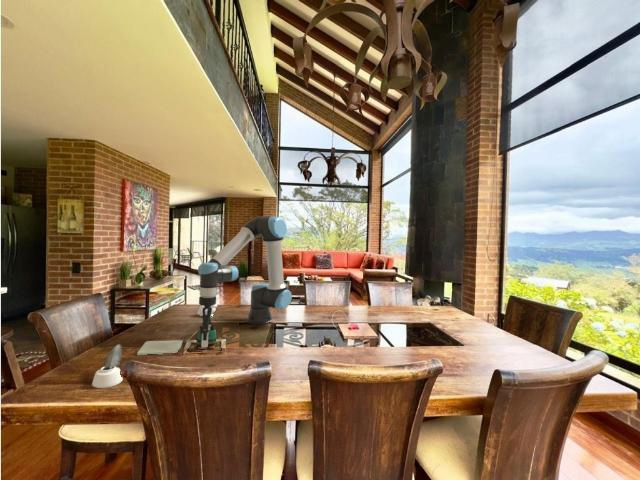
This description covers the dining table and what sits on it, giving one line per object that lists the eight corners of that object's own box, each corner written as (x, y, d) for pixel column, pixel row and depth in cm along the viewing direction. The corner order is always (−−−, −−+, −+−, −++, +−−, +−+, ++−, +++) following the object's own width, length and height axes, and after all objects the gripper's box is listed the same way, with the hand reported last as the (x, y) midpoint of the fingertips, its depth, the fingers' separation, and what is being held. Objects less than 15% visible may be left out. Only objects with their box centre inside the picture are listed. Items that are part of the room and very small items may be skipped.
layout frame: (225, 340, 165) (225, 339, 165) (224, 352, 149) (225, 351, 149) (187, 341, 161) (187, 340, 161) (182, 354, 144) (182, 353, 144)
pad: (182, 342, 159) (182, 340, 159) (177, 353, 145) (177, 351, 145) (146, 343, 155) (146, 341, 155) (137, 355, 141) (137, 352, 141)
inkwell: (87, 389, 110) (88, 359, 110) (103, 367, 127) (104, 342, 127) (119, 386, 113) (120, 357, 113) (130, 365, 130) (131, 340, 130)
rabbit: (218, 315, 210) (219, 297, 210) (210, 319, 201) (211, 299, 201) (200, 314, 213) (201, 295, 212) (192, 317, 203) (193, 298, 203)
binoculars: (214, 322, 162) (218, 325, 153) (213, 344, 161) (217, 349, 152) (194, 323, 158) (197, 327, 149) (194, 346, 157) (196, 351, 148)
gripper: (201, 291, 165) (199, 334, 165) (196, 301, 142) (194, 351, 143) (217, 291, 167) (215, 334, 167) (214, 301, 144) (212, 351, 144)
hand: (205, 342), depth 155 cm, fingers open, 11 cm apart
